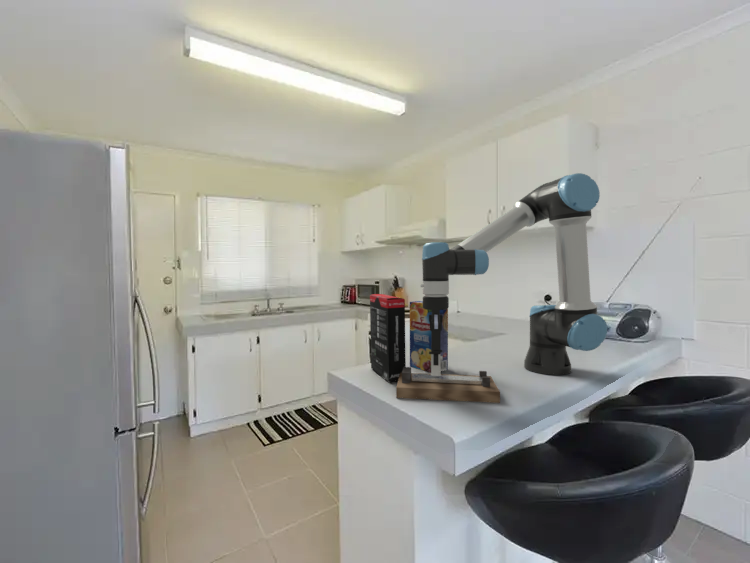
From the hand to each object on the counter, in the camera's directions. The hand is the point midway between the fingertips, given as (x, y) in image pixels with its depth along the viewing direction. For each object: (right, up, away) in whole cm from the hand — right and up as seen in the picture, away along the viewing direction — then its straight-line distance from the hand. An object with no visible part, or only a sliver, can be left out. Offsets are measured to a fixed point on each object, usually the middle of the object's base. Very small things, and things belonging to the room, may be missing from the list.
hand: (435, 375), depth 105 cm
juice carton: (+1, -4, +24) cm, 25 cm away
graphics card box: (-14, -5, +16) cm, 22 cm away
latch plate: (+3, -5, 0) cm, 6 cm away
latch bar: (+4, -2, -1) cm, 4 cm away
